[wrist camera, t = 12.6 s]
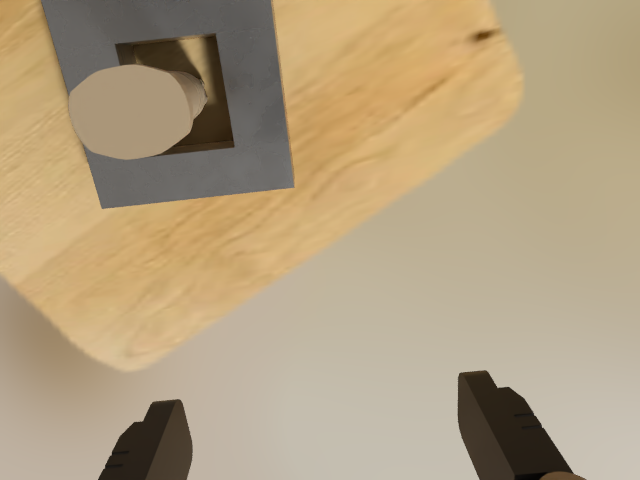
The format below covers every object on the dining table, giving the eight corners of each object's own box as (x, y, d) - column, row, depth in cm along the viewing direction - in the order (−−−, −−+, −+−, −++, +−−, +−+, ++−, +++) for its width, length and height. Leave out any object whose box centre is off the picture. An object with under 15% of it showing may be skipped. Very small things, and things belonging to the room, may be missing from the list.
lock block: (65, -2, 36) (38, -9, 32) (269, -24, 36) (266, -33, 32) (119, 195, 42) (101, 208, 38) (294, 176, 42) (294, 187, 38)
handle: (233, 115, 40) (199, 147, 26) (160, 128, 40) (88, 167, 26) (219, 56, 38) (175, 55, 24) (143, 70, 38) (55, 78, 24)
